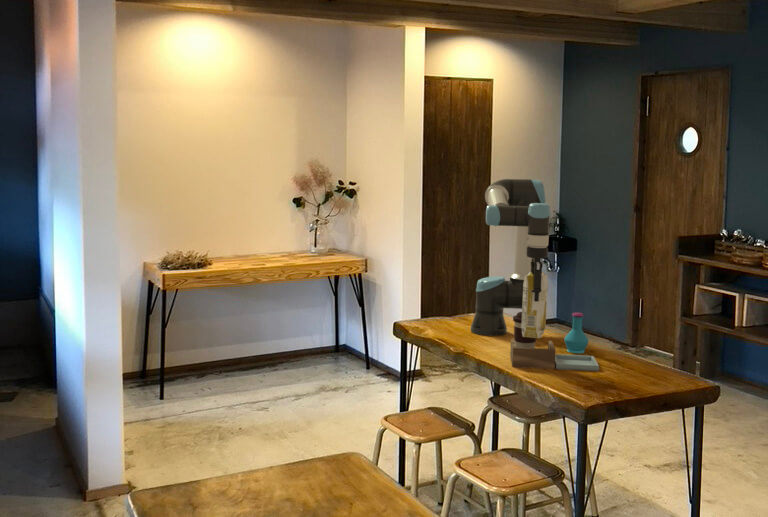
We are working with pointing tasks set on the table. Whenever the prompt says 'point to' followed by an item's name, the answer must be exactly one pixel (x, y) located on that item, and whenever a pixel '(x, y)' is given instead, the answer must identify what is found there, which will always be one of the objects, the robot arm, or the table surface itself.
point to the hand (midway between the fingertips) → (534, 306)
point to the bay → (533, 356)
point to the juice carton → (534, 318)
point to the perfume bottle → (576, 336)
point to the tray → (576, 362)
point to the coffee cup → (519, 339)
